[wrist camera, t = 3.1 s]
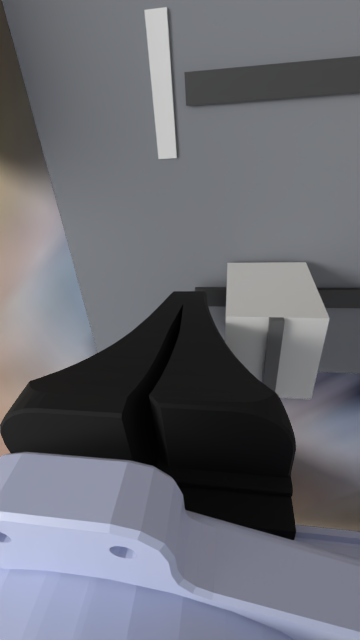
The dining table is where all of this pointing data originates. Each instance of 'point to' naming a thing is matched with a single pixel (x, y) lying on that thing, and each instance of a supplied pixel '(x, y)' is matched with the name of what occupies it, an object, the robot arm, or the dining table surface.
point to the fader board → (199, 148)
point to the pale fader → (276, 324)
